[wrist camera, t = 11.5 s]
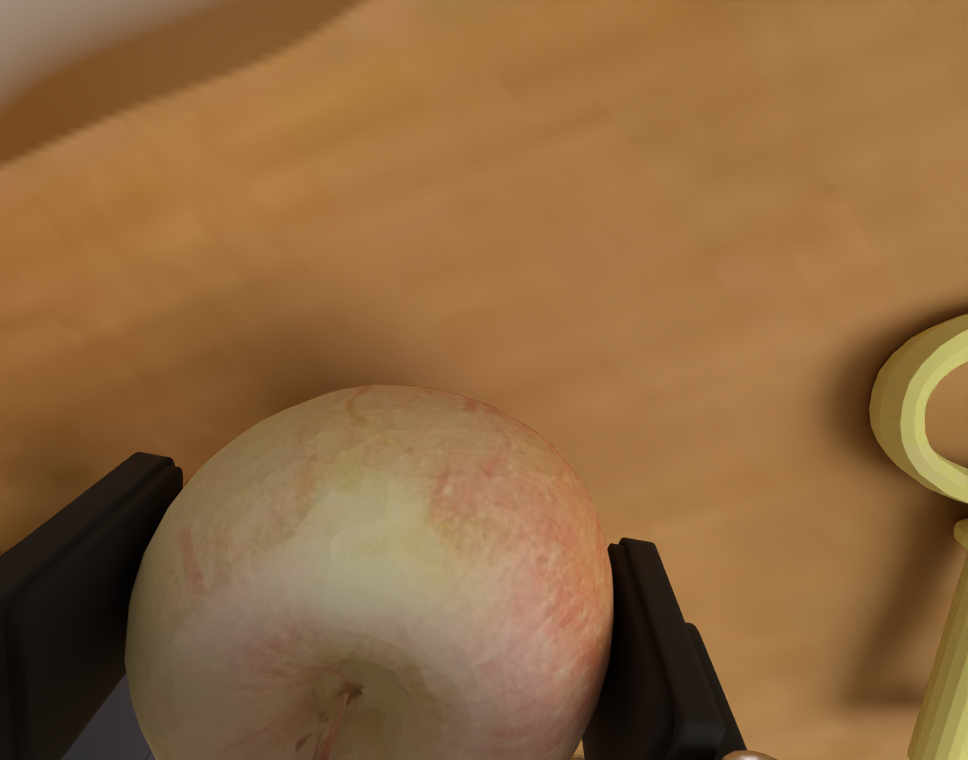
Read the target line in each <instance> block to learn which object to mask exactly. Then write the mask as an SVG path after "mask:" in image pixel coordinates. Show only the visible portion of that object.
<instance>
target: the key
mask: <svg viewBox="0 0 968 760" xmlns="http://www.w3.org/2000/svg"><path fill="white" fill-rule="evenodd" d="M967 361H968V314H965V315H961V316H958V317H955V318H953V319H950V320H948V321H945V322H943V323H940V324H938V325H935V326H932V327H930V328H929V329H927V330H925V331H923V332H921V333H919V334H917V335H916V336H914V337H912V338H910V339H909V340H908V341H907V342H906V343H904V344H903V345H902V346H901V347H900V348H899V349H897V350H896V351H895V352H894V353H893V354H892V355H891V356H890V357H889V359H888V360H887V361H886V363H885V364H884V365H883V367H882V368H881V369H880V370H879V373H878V375H877V378H876V381H875V383H874V386H873V389H872V394H871V400H870V406H869V413H870V421H871V427H872V430H873V432H874V434H875V437H876V439H877V441H878V443H879V444H880V446H881V447H882V449H883V450H884V451H885V453H886V454H887V456H888V457H889V458H890V459H891V460H892V461H893V462H894V463H895V464H896V465H897V466H898V467H899V468H900V469H902V470H903V471H904V472H906V473H907V474H908V475H910V476H911V477H912V478H914V479H915V480H917V481H918V482H919V483H921V484H922V485H923V486H925V487H926V488H928V489H930V490H933V491H935V492H937V493H940V494H942V495H945V496H947V497H949V498H952V499H954V500H958V501H961V502H964V503H967V504H968V469H967V468H965V467H962V466H960V465H957V464H955V463H953V462H950V461H948V460H946V459H945V458H943V457H942V456H940V455H939V454H937V453H936V452H934V451H933V450H932V448H931V447H930V445H929V443H928V440H927V437H926V434H925V421H924V418H925V409H926V403H927V401H928V399H929V396H930V394H931V392H932V391H933V389H934V388H935V387H936V385H937V384H938V383H939V381H940V380H941V379H942V378H943V377H945V376H946V375H947V374H948V373H949V372H950V371H952V370H953V369H954V368H956V367H958V366H959V365H961V364H963V363H965V362H967ZM954 538H955V539H956V540H957V541H958V542H959V543H960V544H961V545H962V546H963V547H964V548H966V549H967V550H968V519H964V520H961V521H958V522H957V523H956V524H955V526H954ZM908 757H909V759H910V760H968V552H967V555H966V559H965V562H964V565H963V569H962V572H961V575H960V579H959V582H958V585H957V589H956V592H955V595H954V599H953V602H952V605H951V609H950V612H949V615H948V619H947V622H946V625H945V629H944V632H943V635H942V639H941V642H940V645H939V648H938V652H937V655H936V658H935V662H934V665H933V668H932V672H931V675H930V678H929V682H928V685H927V688H926V692H925V695H924V698H923V702H922V705H921V708H920V712H919V715H918V718H917V722H916V725H915V728H914V732H913V735H912V738H911V742H910V745H909V748H908Z"/></svg>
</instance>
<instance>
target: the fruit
mask: <svg viewBox="0 0 968 760" xmlns="http://www.w3.org/2000/svg"><path fill="white" fill-rule="evenodd" d="M613 622H614V603H613V579H612V570H611V564H610V560H609V555H608V550H607V546H606V541H605V537H604V534H603V531H602V527H601V524H600V521H599V518H598V515H597V513H596V511H595V508H594V506H593V504H592V502H591V499H590V497H589V495H588V494H587V492H586V491H585V489H584V487H583V486H582V484H581V482H580V481H579V479H578V477H577V476H576V474H575V472H574V471H573V469H572V468H571V467H570V465H569V464H568V463H567V462H566V461H565V460H564V458H563V457H562V456H561V455H560V454H559V453H558V451H557V450H556V449H555V448H554V447H553V446H552V445H551V444H549V443H548V442H547V441H546V440H545V439H544V438H543V437H541V436H540V435H539V434H538V433H537V432H535V431H534V430H532V429H531V428H529V427H528V426H526V425H525V424H523V423H522V422H520V421H519V420H517V419H516V418H514V417H512V416H510V415H508V414H507V413H505V412H503V411H501V410H499V409H497V408H495V407H493V406H490V405H487V404H484V403H482V402H479V401H476V400H473V399H470V398H467V397H464V396H460V395H456V394H452V393H448V392H444V391H439V390H435V389H430V388H425V387H417V386H406V385H366V386H359V387H353V388H346V389H342V390H338V391H334V392H330V393H327V394H324V395H321V396H319V397H316V398H314V399H311V400H308V401H306V402H303V403H300V404H298V405H295V406H293V407H290V408H287V409H285V410H283V411H281V412H279V413H277V414H274V415H272V416H270V417H268V418H266V419H264V420H262V421H261V422H259V423H257V424H256V425H254V426H253V427H251V428H250V429H248V430H247V431H245V432H244V433H242V434H241V435H239V436H238V437H237V438H235V439H234V440H233V441H231V442H230V443H229V444H228V445H226V446H225V447H224V448H222V449H221V450H220V451H219V452H217V453H216V454H215V455H214V456H213V457H212V458H210V459H209V460H208V461H207V462H206V463H205V464H204V465H203V466H202V467H201V468H200V469H199V470H198V471H197V472H196V473H195V474H194V476H193V477H192V478H191V479H190V480H189V481H188V483H187V484H186V485H185V487H184V488H183V489H182V490H181V492H180V493H179V494H178V496H177V497H176V498H175V500H174V501H173V502H172V504H171V505H170V506H169V507H168V509H167V511H166V513H165V515H164V517H163V519H162V520H161V522H160V524H159V526H158V528H157V530H156V532H155V534H154V535H153V537H152V539H151V541H150V543H149V545H148V547H147V549H146V550H145V552H144V555H143V558H142V561H141V564H140V567H139V571H138V574H137V577H136V580H135V583H134V587H133V590H132V594H131V599H130V604H129V611H128V623H127V634H126V647H125V660H124V662H125V667H126V673H127V679H128V684H129V690H130V696H131V701H132V704H133V707H134V710H135V713H136V716H137V719H138V722H139V725H140V728H141V731H142V733H143V735H144V737H145V739H146V741H147V743H148V745H149V747H150V749H151V751H152V753H153V755H154V757H155V759H156V760H570V758H571V757H572V755H573V753H574V752H575V750H576V749H577V747H578V745H579V743H580V740H581V738H582V736H583V734H584V732H585V730H586V728H587V725H588V723H589V721H590V719H591V717H592V715H593V713H594V710H595V708H596V706H597V703H598V700H599V696H600V693H601V689H602V686H603V683H604V679H605V676H606V672H607V669H608V665H609V661H610V651H611V641H612V632H613Z"/></svg>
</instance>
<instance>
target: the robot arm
mask: <svg viewBox="0 0 968 760" xmlns="http://www.w3.org/2000/svg"><path fill="white" fill-rule="evenodd" d="M182 489H183V472H182V469H181V468H180V467H175V464H174V461H173V459H172V458H170V457H165V456H159V455H154V454H148V453H142V452H137V453H135V454H133V455H132V456H130V457H129V458H128V459H127V460H125V461H124V462H123V463H121V464H120V465H119V466H117V467H116V468H115V469H114V470H112V471H111V472H110V473H108V474H107V475H106V476H105V477H103V478H102V479H101V480H99V481H98V482H97V483H96V484H94V485H93V486H92V487H90V488H89V489H88V490H86V491H85V492H84V493H83V494H81V495H80V496H79V497H77V498H76V499H75V500H74V501H72V502H71V503H70V504H68V505H67V506H66V507H65V508H63V509H62V510H61V511H59V512H58V513H57V514H55V515H54V516H53V517H52V518H50V519H49V520H48V521H46V522H45V523H44V524H43V525H41V526H40V527H39V528H37V529H36V530H35V531H34V532H32V533H31V534H30V535H28V536H27V537H26V538H24V539H23V540H22V541H21V542H19V543H18V544H17V545H15V546H14V547H13V548H12V549H10V550H9V551H8V552H6V553H5V554H4V555H3V556H1V557H0V760H61V759H62V758H63V757H64V755H65V754H66V753H67V751H68V750H69V749H70V747H71V746H72V745H73V743H74V742H75V741H76V739H77V738H78V737H79V735H80V734H81V733H82V731H83V730H84V729H85V727H86V726H87V725H88V723H89V722H90V721H91V719H92V718H93V717H94V715H95V714H96V713H97V711H98V710H99V709H100V707H101V706H102V705H103V703H104V702H105V701H106V699H107V698H108V697H109V695H110V694H111V693H112V691H113V690H114V689H115V687H116V686H117V685H118V683H119V682H120V681H121V679H122V678H123V677H124V675H125V674H126V667H125V662H124V660H125V647H126V634H127V623H128V611H129V604H130V599H131V594H132V590H133V587H134V583H135V580H136V577H137V574H138V571H139V567H140V564H141V561H142V558H143V555H144V552H145V550H146V549H147V547H148V545H149V543H150V541H151V539H152V537H153V535H154V534H155V532H156V530H157V528H158V526H159V524H160V522H161V520H162V519H163V517H164V515H165V513H166V511H167V509H168V507H169V506H170V505H171V504H172V502H173V501H174V500H175V498H176V497H177V496H178V494H179V493H180V492H181V490H182ZM607 550H608V555H609V560H610V564H611V570H612V579H613V603H614V622H613V632H612V641H611V651H610V661H609V665H608V669H607V672H606V676H605V679H604V683H603V686H602V689H601V693H600V696H599V700H598V703H597V706H596V708H595V710H594V713H593V715H592V717H591V719H590V721H589V723H588V725H587V728H586V730H585V732H584V734H583V736H582V742H583V749H584V757H585V760H777V759H775V758H773V757H770V756H768V755H766V754H763V753H759V752H755V751H750V750H747V748H746V746H745V743H744V741H743V739H742V736H741V734H740V731H739V729H738V726H737V724H736V721H735V719H734V717H733V714H732V712H731V709H730V707H729V704H728V702H727V699H726V697H725V694H724V692H723V690H722V687H721V685H720V682H719V680H718V677H717V675H716V672H715V670H714V667H713V665H712V663H711V660H710V658H709V655H708V653H707V650H706V648H705V645H704V643H703V640H702V638H701V636H700V633H699V631H698V630H697V628H696V626H694V625H693V624H691V623H686V622H685V621H684V618H683V616H682V613H681V611H680V608H679V605H678V603H677V600H676V598H675V595H674V592H673V590H672V587H671V585H670V582H669V580H668V577H667V574H666V572H665V569H664V567H663V564H662V561H661V559H660V556H659V554H658V551H657V548H656V546H655V544H654V543H652V542H646V541H641V540H635V539H629V538H624V537H623V538H622V539H621V540H620V542H619V544H612V543H611V544H610V545H609V547H608V549H607Z"/></svg>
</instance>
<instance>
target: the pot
mask: <svg viewBox="0 0 968 760" xmlns="http://www.w3.org/2000/svg"><path fill="white" fill-rule="evenodd" d="M61 760H156V759H155V757H154V755H153V753H152V751H151V749H150V747H149V745H148V743H147V741H146V739H145V737H144V735H143V733H142V731H141V728H140V725H139V722H138V719H137V716H136V713H135V710H134V707H133V704H132V701H131V696H130V690H129V684H128V679H127V673H126V674H125V675H124V677H123V678H122V679H121V681H120V682H119V683H118V685H117V686H116V687H115V689H114V690H113V691H112V693H111V694H110V695H109V697H108V698H107V699H106V701H105V702H104V703H103V705H102V706H101V707H100V709H99V710H98V711H97V713H96V714H95V715H94V717H93V718H92V719H91V721H90V722H89V723H88V725H87V726H86V727H85V729H84V730H83V731H82V733H81V734H80V735H79V737H78V738H77V739H76V741H75V742H74V743H73V745H72V746H71V747H70V749H69V750H68V751H67V753H66V754H65V755H64V757H63V758H62V759H61Z"/></svg>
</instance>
